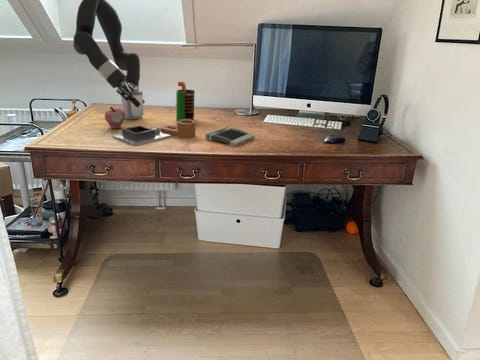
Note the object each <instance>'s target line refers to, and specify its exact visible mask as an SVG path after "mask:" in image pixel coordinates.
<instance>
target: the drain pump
mask: <svg viewBox="0 0 480 360" xmlns="http://www.w3.org/2000/svg"><path fill="white" fill-rule="evenodd" d="M132 95H133V96H134V98H136V99H137V100H138V101H139V102H140V106H139V107H136V106H135V105H134V104H133V103H132V102H131V114H132V116H142V117H143V116H144V104H143V100H144V96H143V91H141V90H140V87H139V88H134V91H132Z"/></svg>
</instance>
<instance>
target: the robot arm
mask: <svg viewBox="0 0 480 360" xmlns="http://www.w3.org/2000/svg"><path fill="white" fill-rule="evenodd" d="M77 8H78V9H77V13H76V21H75V22H76V23H75V25H76V29H75V33H74V35H73V48H74V50H75V52H76V53H77V54H79V55H83V56H84V55H86V57H87V58H88V61H89V63H90V64H91V65H92V67H93V68H94V69H95V70H96V71H97V72H98V73H99V74H100V76H101V77H102V78H103V79H104V80H105V81H106V82H107V83H108V84H109V85H110V86H111V87H112V88H113V89H116V88H117V89H116V93H117V94H118V95H120V100H121V102H120V103H121V110H123V111H125V114H126V116H125V120H139V119H140V118H141V119H142V117H143V116H132V114H131V102H132V103H133V104H134V105H135V106H136V107H139V106H140V102H139V101H138V100H137V99H136V98H134V96H133V95H132V91H134V88H139V89H140V78H141V62H140V61H141V60H140V57H139V55H138V54H137V53H136V52H133V51H125V49H124V46H123V45H122V41H121V37H122V32H123V31H122V29H123V26H122V22H121V19H120V17H119V15H118V14H119V13H118V12H117V10H116V9H115V8H114V7H113V6H112V5H111V4H110V2H108V1H107V0H81V2H80V4H79V6H78V7H77ZM96 18H97V22H98V24H99V25H100V27H101V29H102V31H103V34H104V36H105V38H106V41H107V45H109V49H110V51H111V55H112V58H113V61H114V62H113V61H112V60H111V59H110V58H109V56H107V54H105V53H104V52H103V50H102V49H101V47H100V46H99V44H98V42H96V40H95V39H94V38H93V33H94V32H93V31H94V29H95V25H96V24H95V22H96ZM124 71H126V74H125V73H124ZM145 102H146V101H145V99H143V105H144V104H145Z"/></svg>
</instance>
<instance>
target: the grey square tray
mask: <svg viewBox="0 0 480 360" xmlns="http://www.w3.org/2000/svg"><path fill="white" fill-rule="evenodd" d="M204 137H205V140H206V141H216V142H220V143H221V142H222V143H224V144H227V145H229V146H230V145H231V146H230V147H234V146H235V147H236V145H237V146H240V144H241V145H243V144H245V143H248V142H250V141H252V140H253V139H255V135H254V134H253V133H248V132H246V131H244V130H241V129H238V128H233V127H229V126H228V125H226V126H223V127H220V128H216V129H213V130H212V131H208V132H206V133H204ZM249 140H250V141H249ZM247 141H248V142H247ZM244 142H245V143H244ZM242 143H243V144H242Z"/></svg>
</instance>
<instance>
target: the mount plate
mask: <svg viewBox="0 0 480 360" xmlns="http://www.w3.org/2000/svg"><path fill="white" fill-rule="evenodd" d="M172 137H173V136H172V135H170V134H167V133H164V132H161V131H160V127H158V126H151V127H147V126H144V125H135V126H130V127H125V128H122V129H121V133H118V134H113V135H112V138H113V139H116V140H118V141H121V142H123V143H126V144H128V145H131V146H134V147H135V146H140V145H144V144H149V143H153V142H157V141H158V142H159V141H162V140H167V139H170V138H172Z"/></svg>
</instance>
